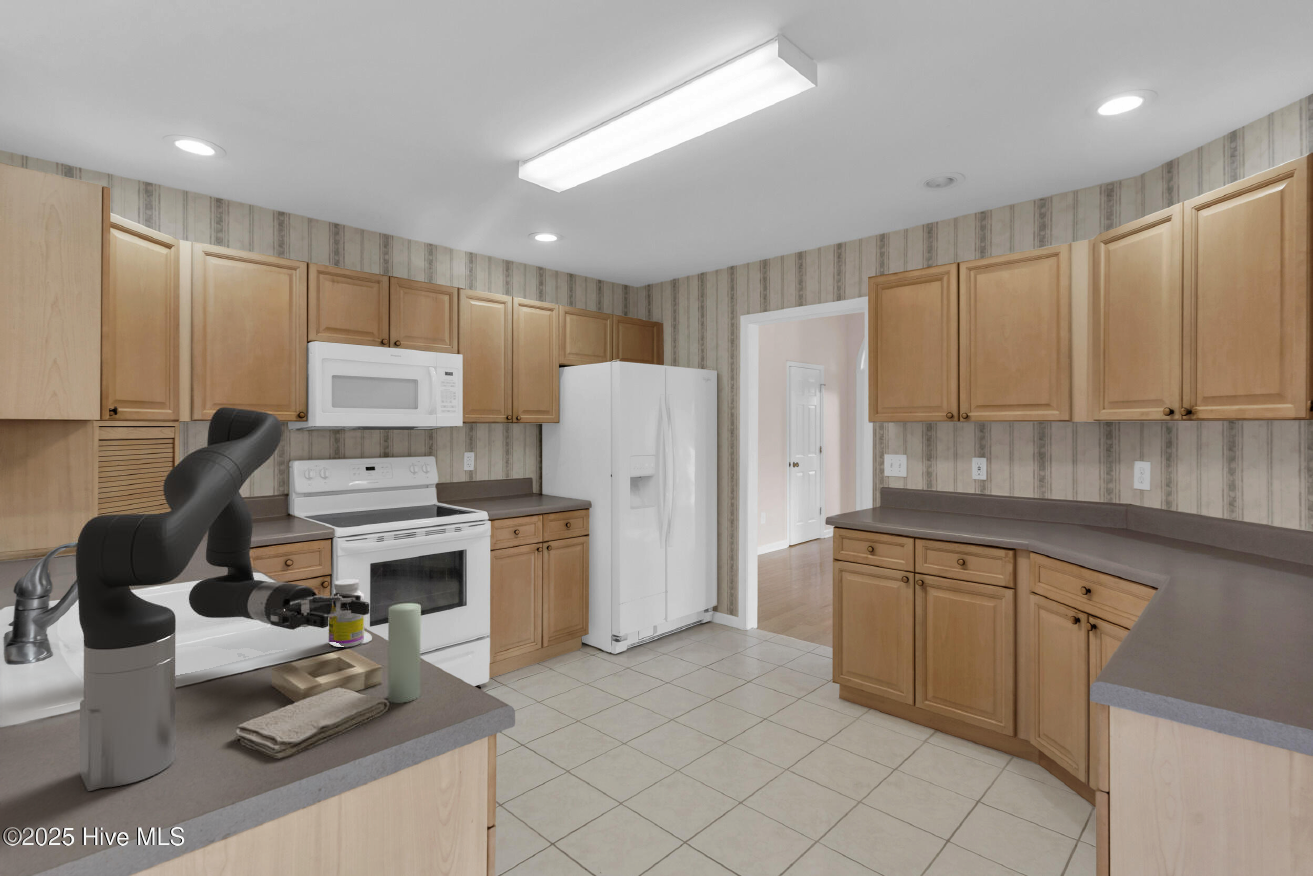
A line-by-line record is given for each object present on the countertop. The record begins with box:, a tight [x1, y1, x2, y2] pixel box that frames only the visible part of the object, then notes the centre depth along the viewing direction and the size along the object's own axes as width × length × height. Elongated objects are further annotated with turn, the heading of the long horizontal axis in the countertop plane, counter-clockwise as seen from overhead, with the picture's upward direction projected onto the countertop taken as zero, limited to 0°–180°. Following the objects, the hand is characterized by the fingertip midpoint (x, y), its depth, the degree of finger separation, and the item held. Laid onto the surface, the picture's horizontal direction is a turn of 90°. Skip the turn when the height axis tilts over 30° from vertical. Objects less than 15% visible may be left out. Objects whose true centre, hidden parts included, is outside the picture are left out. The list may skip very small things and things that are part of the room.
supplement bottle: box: [328, 578, 365, 648], centre depth 132 cm, size 7×7×13 cm
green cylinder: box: [387, 602, 422, 704], centre depth 107 cm, size 5×5×15 cm
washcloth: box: [234, 688, 390, 759], centre depth 96 cm, size 12×18×3 cm, turn 154°
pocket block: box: [271, 648, 383, 703], centre depth 111 cm, size 13×13×3 cm
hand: (348, 614), depth 110 cm, fingers open, 8 cm apart
